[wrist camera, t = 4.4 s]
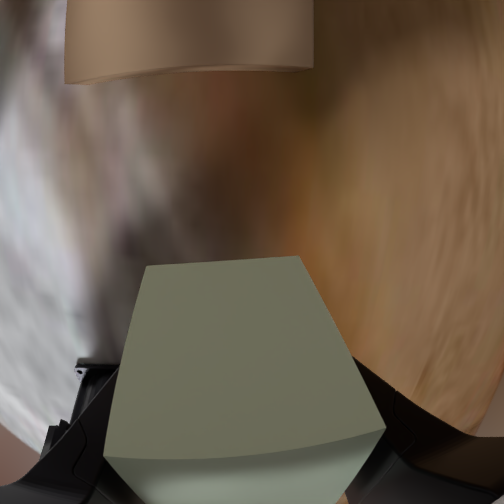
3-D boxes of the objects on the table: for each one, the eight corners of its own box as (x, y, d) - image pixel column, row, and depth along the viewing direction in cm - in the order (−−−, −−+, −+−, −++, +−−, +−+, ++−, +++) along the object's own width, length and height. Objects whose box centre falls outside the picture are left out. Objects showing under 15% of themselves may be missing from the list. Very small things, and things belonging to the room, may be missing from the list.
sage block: (169, 370, 11) (165, 523, 6) (146, 265, 9) (103, 455, 4) (289, 360, 12) (333, 505, 6) (298, 255, 10) (386, 427, 4)
